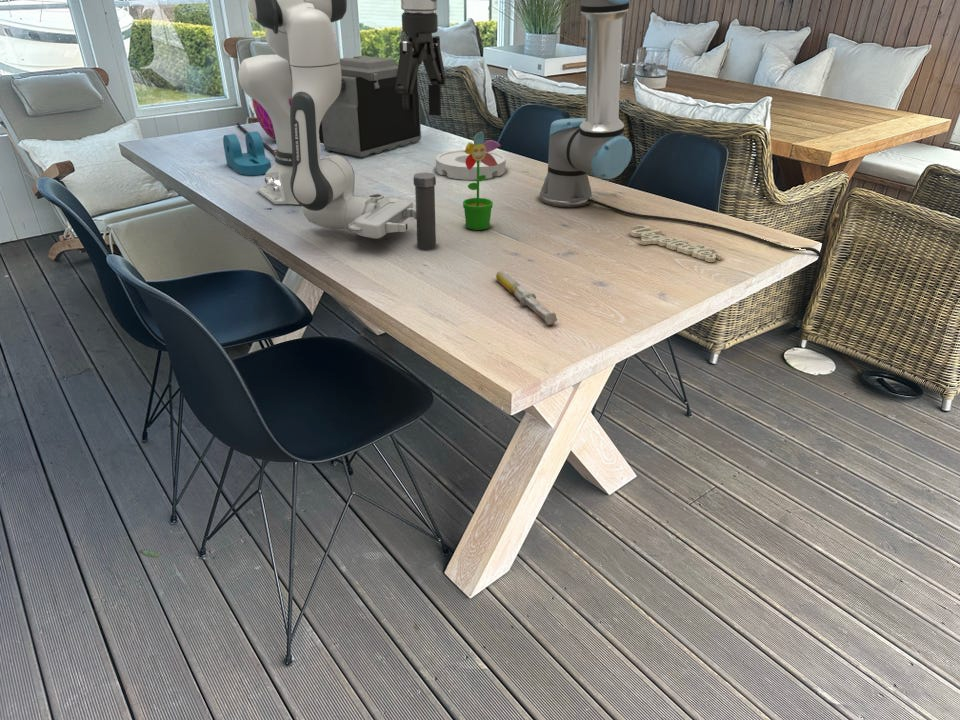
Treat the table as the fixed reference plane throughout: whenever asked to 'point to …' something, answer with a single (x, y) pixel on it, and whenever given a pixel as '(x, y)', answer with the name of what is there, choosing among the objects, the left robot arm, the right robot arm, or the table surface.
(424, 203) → the bottle
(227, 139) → the camera mount
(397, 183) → the table surface
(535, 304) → the syringe
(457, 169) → the ashtray
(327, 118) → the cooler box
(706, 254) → the decorative sign
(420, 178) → the lid
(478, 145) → the potted flower
